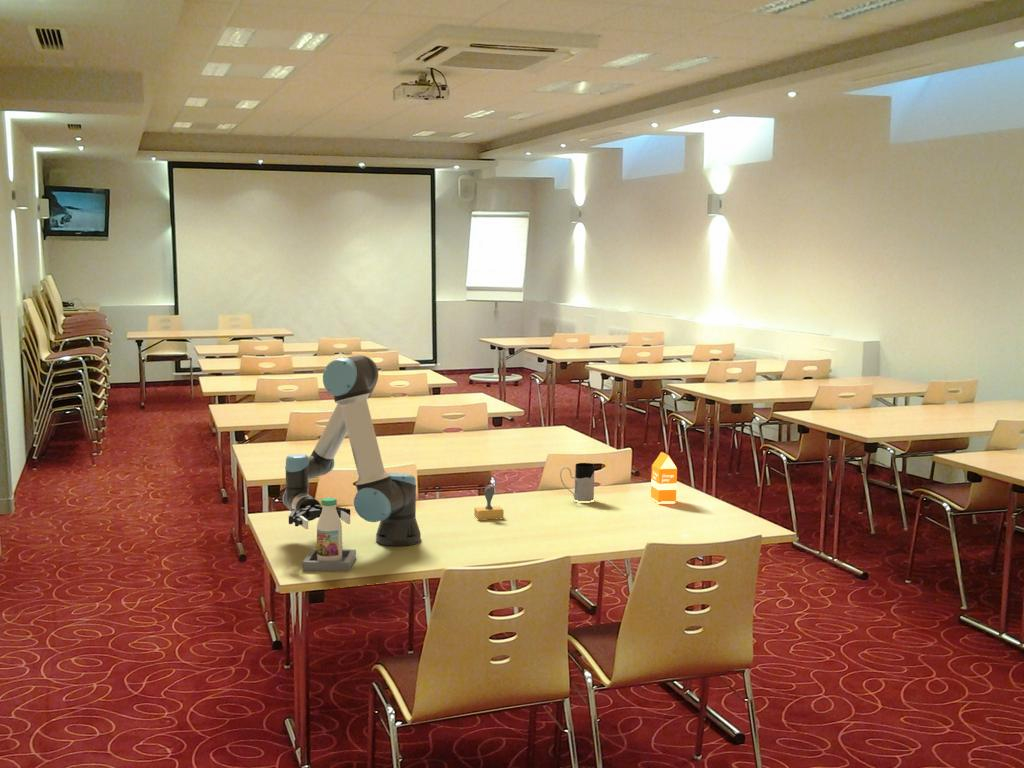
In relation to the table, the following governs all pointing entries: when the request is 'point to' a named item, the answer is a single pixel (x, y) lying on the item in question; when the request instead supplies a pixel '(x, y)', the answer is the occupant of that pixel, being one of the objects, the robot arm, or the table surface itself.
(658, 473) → the orange juice
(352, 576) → the table surface
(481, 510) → the rubber stamp
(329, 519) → the milk bottle
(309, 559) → the tray
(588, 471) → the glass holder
